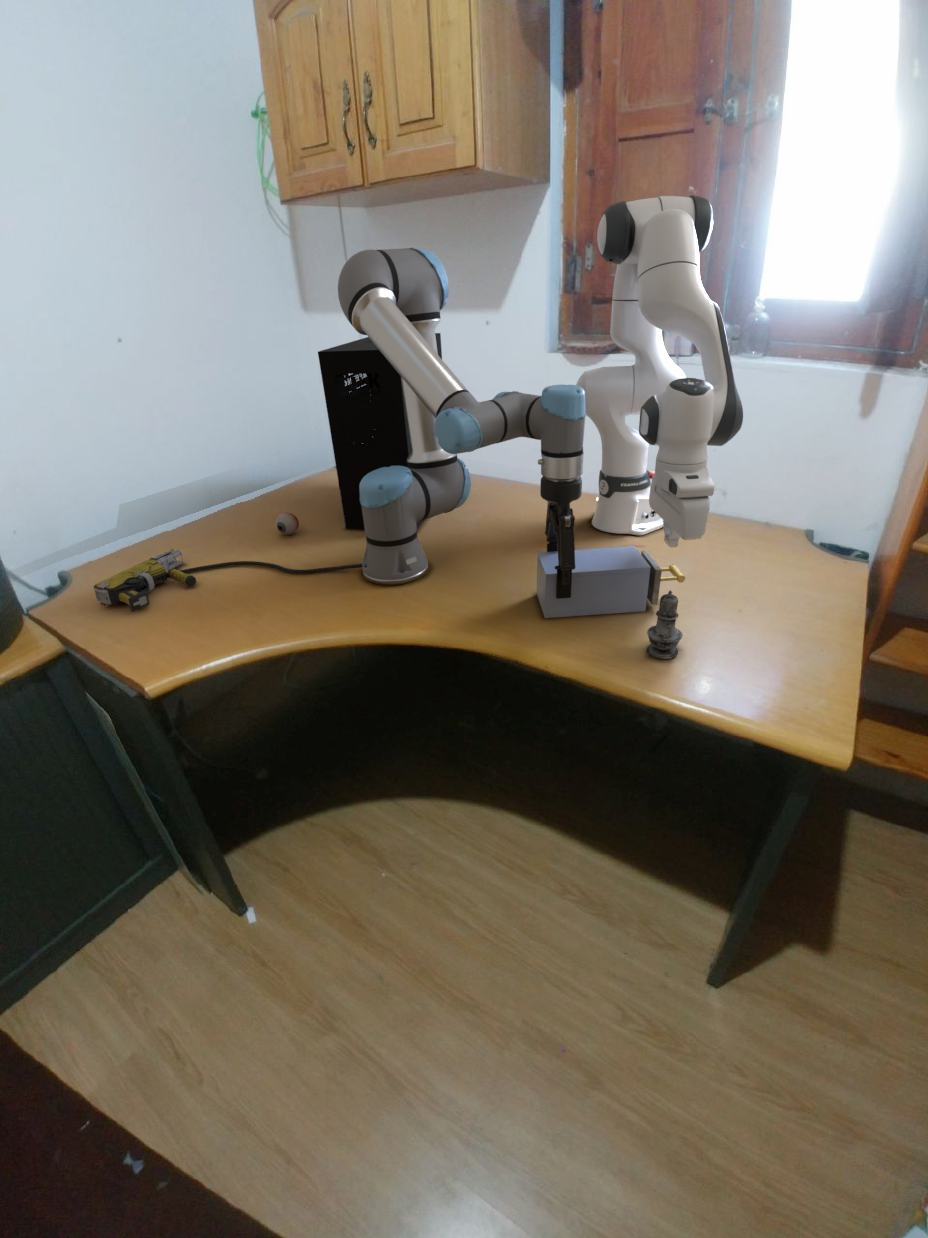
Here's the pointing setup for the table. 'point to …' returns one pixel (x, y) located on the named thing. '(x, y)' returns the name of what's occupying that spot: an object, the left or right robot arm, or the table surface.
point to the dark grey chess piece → (665, 629)
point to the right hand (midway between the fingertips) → (670, 544)
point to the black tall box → (364, 417)
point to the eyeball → (287, 523)
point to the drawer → (659, 577)
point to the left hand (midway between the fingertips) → (558, 584)
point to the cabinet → (595, 582)
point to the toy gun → (141, 581)
